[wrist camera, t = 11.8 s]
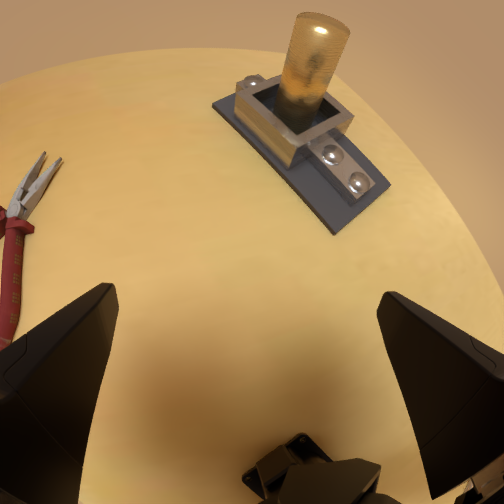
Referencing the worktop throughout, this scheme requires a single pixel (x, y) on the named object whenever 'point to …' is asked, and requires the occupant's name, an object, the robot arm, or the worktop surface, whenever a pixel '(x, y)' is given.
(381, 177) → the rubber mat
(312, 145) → the grey framed plate
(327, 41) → the amber cylinder
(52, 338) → the robot arm
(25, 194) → the pliers
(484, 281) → the worktop surface
